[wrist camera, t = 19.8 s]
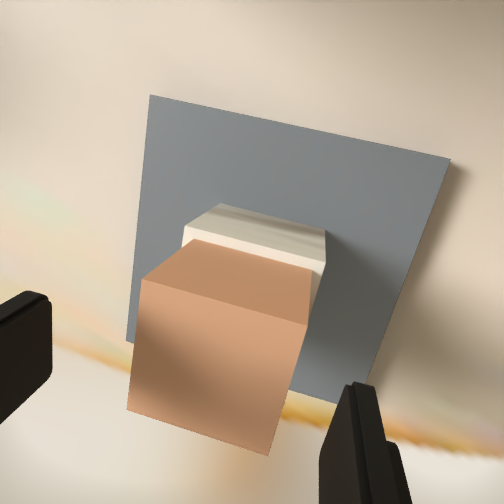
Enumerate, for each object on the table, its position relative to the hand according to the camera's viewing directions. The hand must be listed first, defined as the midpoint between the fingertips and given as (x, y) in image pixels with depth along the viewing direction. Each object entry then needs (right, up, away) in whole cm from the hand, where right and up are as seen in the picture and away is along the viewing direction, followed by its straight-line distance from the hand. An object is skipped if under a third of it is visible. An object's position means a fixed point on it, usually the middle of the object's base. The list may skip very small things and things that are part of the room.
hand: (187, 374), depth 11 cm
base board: (+3, +3, +13) cm, 14 cm away
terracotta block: (+1, +1, +6) cm, 6 cm away
